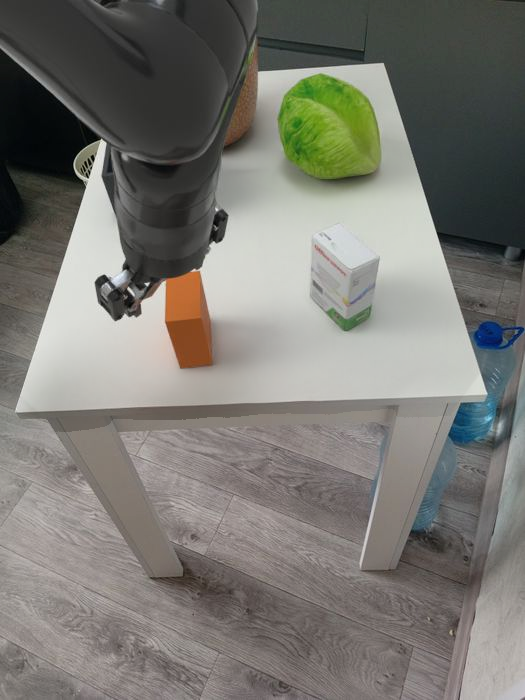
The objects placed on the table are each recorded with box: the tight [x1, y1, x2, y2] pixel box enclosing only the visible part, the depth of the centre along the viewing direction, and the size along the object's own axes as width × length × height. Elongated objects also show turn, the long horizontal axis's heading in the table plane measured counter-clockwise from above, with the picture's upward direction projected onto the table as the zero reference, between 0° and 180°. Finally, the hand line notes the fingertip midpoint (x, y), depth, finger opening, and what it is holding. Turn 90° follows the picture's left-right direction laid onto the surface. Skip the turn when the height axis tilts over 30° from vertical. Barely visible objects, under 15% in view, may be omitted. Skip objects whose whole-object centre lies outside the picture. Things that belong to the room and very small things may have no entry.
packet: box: [164, 270, 213, 369], centre depth 67 cm, size 4×8×10 cm, turn 5°
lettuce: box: [277, 72, 382, 180], centre depth 88 cm, size 17×20×16 cm
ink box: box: [309, 222, 381, 332], centre depth 69 cm, size 8×5×12 cm, turn 33°
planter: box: [223, 38, 259, 148], centre depth 95 cm, size 21×21×19 cm
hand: (163, 285), depth 56 cm, fingers open, 8 cm apart
